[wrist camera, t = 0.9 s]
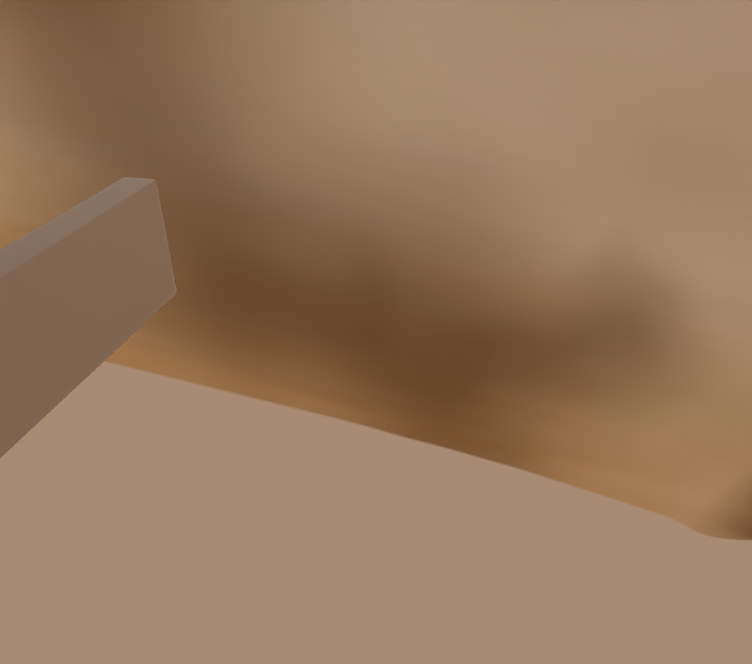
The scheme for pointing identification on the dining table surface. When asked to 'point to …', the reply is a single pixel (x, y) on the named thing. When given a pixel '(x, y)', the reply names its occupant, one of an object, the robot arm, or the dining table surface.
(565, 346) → the dining table surface
